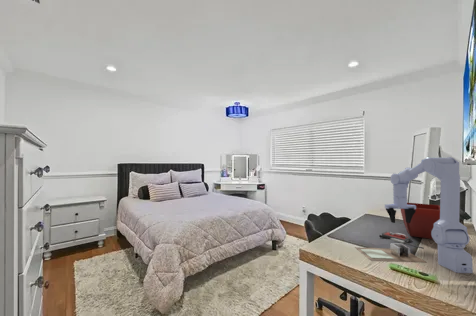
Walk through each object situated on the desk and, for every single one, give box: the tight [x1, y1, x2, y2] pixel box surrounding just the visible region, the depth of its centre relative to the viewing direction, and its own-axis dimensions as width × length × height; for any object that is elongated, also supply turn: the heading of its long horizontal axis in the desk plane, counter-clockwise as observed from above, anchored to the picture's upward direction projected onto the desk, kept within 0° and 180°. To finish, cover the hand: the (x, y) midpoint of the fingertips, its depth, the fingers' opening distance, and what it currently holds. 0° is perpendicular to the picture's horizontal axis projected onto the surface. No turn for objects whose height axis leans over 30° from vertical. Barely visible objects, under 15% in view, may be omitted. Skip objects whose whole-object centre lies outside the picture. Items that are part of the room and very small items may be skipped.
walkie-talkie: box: [379, 231, 425, 250], centre depth 111 cm, size 9×4×20 cm
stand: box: [354, 247, 428, 264], centre depth 94 cm, size 14×22×4 cm, turn 86°
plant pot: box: [399, 202, 440, 240], centre depth 123 cm, size 19×19×17 cm
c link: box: [389, 242, 411, 257], centre depth 94 cm, size 5×5×4 cm
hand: (400, 222), depth 112 cm, fingers open, 7 cm apart
